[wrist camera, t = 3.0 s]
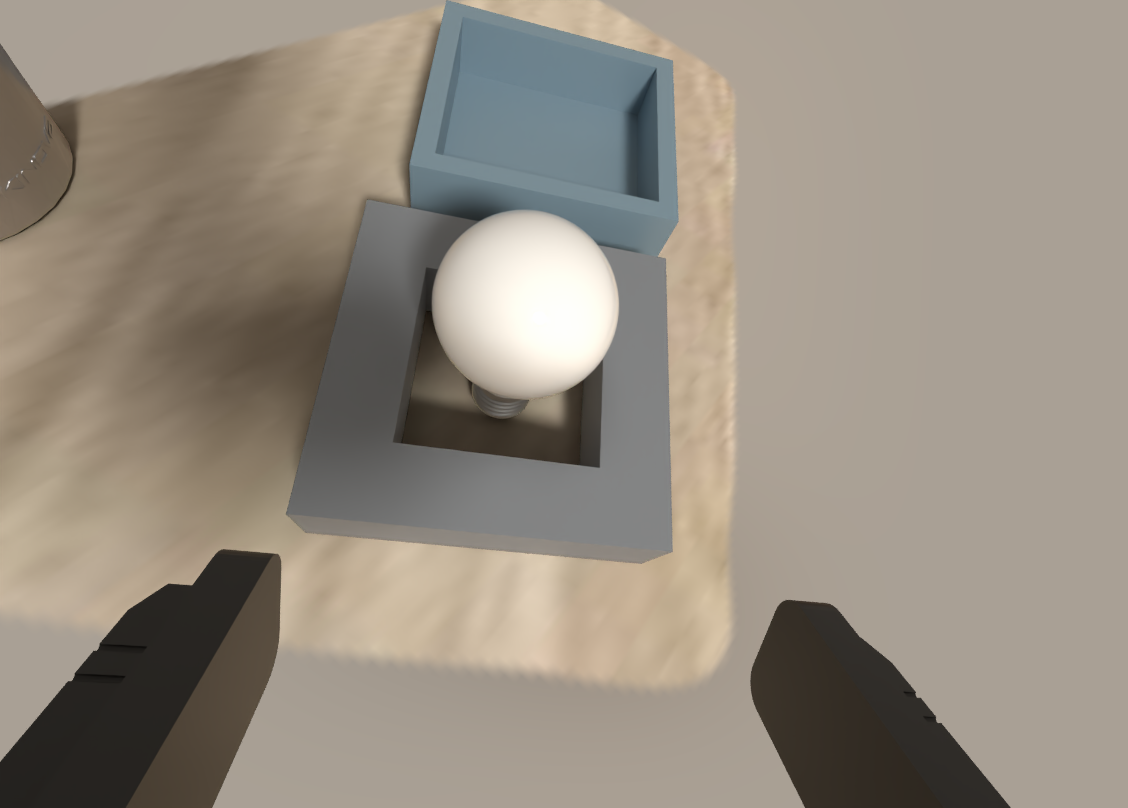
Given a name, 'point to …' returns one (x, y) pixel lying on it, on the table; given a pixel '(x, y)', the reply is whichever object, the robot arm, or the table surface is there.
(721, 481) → the table surface
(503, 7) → the table surface
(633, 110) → the parts tray
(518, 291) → the lightbulb
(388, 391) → the socket block
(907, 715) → the robot arm
